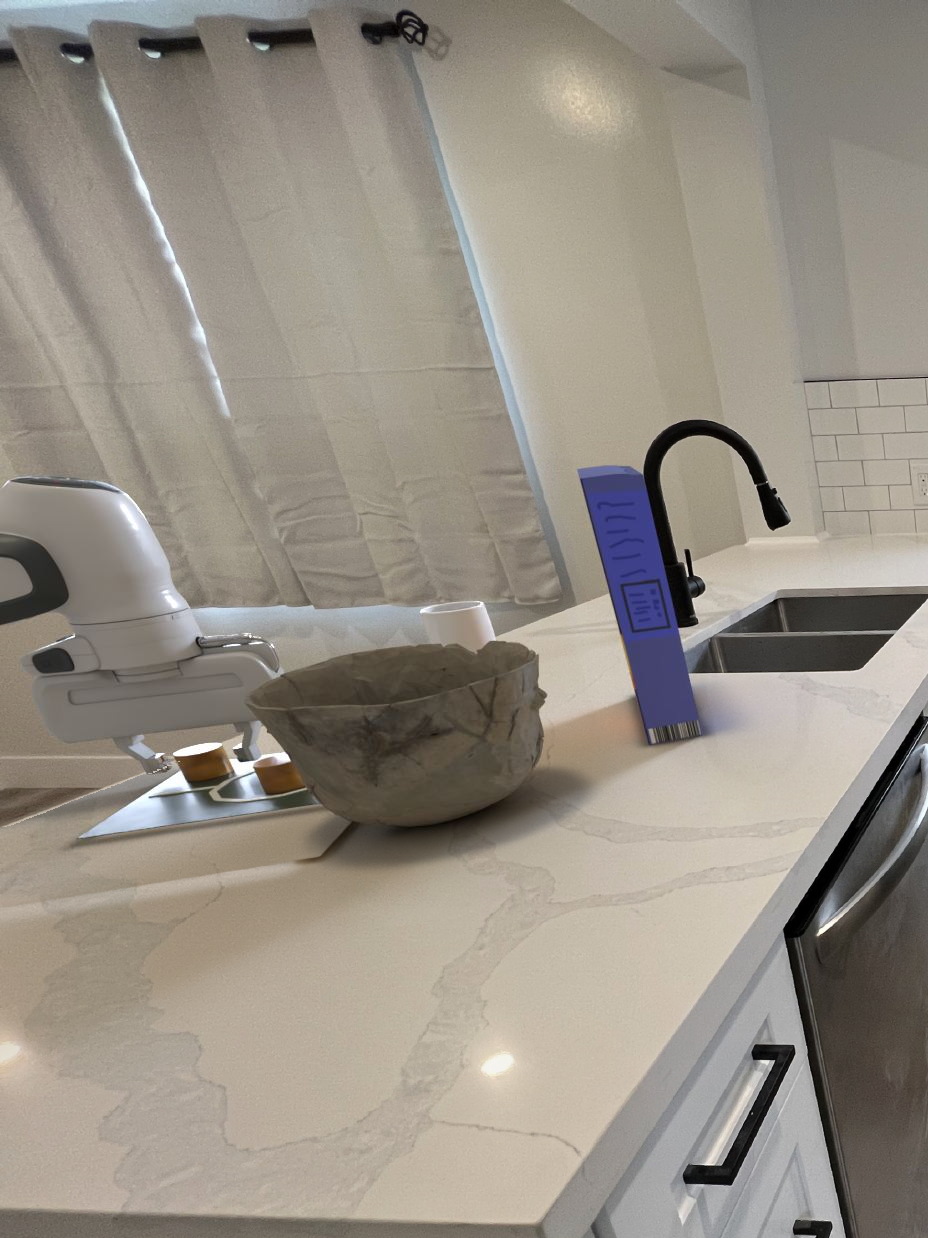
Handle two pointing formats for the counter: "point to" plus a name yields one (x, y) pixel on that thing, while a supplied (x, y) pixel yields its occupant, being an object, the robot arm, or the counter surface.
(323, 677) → the bowl
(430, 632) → the white plastic cylinder
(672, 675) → the cereal box
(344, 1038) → the counter surface
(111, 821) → the board
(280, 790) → the orange white short cylinder
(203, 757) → the short orange cylinder
